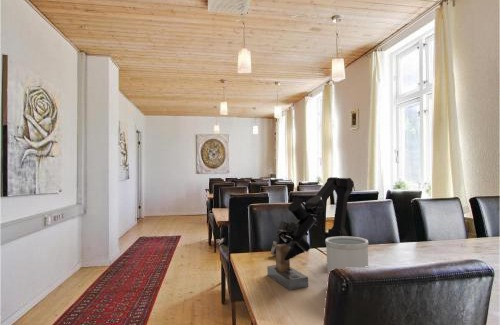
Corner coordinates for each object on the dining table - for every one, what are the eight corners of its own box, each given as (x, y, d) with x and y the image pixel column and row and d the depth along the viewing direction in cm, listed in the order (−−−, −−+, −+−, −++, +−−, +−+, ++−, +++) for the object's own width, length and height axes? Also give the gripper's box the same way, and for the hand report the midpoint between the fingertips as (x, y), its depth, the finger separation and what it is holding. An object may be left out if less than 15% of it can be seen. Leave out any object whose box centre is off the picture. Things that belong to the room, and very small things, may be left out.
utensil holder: (319, 284, 114) (317, 237, 114) (353, 279, 118) (352, 234, 118) (341, 300, 99) (339, 246, 100) (379, 294, 103) (377, 242, 104)
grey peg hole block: (267, 274, 125) (267, 265, 125) (284, 272, 128) (284, 263, 128) (289, 290, 108) (289, 280, 108) (308, 286, 111) (308, 276, 111)
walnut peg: (285, 275, 124) (284, 243, 124) (290, 278, 120) (289, 245, 120) (276, 277, 122) (275, 244, 122) (281, 280, 118) (280, 246, 119)
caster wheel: (296, 259, 155) (290, 261, 147) (276, 252, 161) (269, 254, 152) (299, 246, 156) (293, 247, 147) (279, 239, 161) (273, 240, 152)
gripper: (279, 211, 132) (256, 239, 127) (302, 216, 115) (277, 249, 110) (295, 227, 135) (273, 255, 130) (320, 235, 117) (296, 268, 113)
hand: (279, 256), depth 121 cm, fingers open, 9 cm apart
